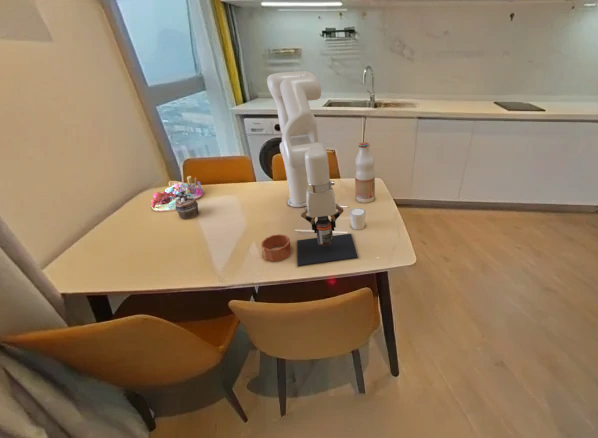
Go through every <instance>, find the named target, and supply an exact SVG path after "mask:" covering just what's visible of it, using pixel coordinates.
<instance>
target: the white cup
mask: <svg viewBox="0 0 598 438" xmlns="http://www.w3.org/2000/svg"><path fill="white" fill-rule="evenodd" d="M349 219H350V225H351V228H352V229H353V230H362V229H364V228H365V227H366V210H365V209H364V208H361V207H355V208H352V209H350V210H349Z"/></svg>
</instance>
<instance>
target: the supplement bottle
mask: <svg viewBox="0 0 598 438" xmlns="http://www.w3.org/2000/svg"><path fill="white" fill-rule="evenodd" d="M316 219H317V220H315V225H316V233H315V234H316V238H317V241H318V244H319V245H322V246H328V245H330V244H332V242H333V236H334V235H333V233H334V232H333V231H332V223H331V219H329V216H322V217H316Z"/></svg>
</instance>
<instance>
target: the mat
mask: <svg viewBox="0 0 598 438" xmlns="http://www.w3.org/2000/svg"><path fill="white" fill-rule="evenodd" d="M296 252H297V255H296V257H297V258H296V259H297V267H305V266H311V265H319V264H326V263H332V262H340V261H348V260H354V259H359V256H358V253H357V249H356V245H355V242H354V239H353V236H352V233H344V234H336V235H333V242H332V244H330V245H328V246H322V245H319V244H318V241H317V237H313V238H305V239H297V240H296Z"/></svg>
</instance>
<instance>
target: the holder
mask: <svg viewBox="0 0 598 438" xmlns="http://www.w3.org/2000/svg"><path fill="white" fill-rule="evenodd" d="M275 247H280V248H275ZM260 248H261V252H262V256H263V258H264V259H265V260H266V261H268V262H281V261H283V260H285V259H287V258H289V257H290V256H291V254H292V244H291V239H290V237H288V236H287V234H286V235H285V234H279V233H277V234H273V235H270V236H267V237H266V238H264V239H263V240H262V241H261V245H260Z"/></svg>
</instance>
